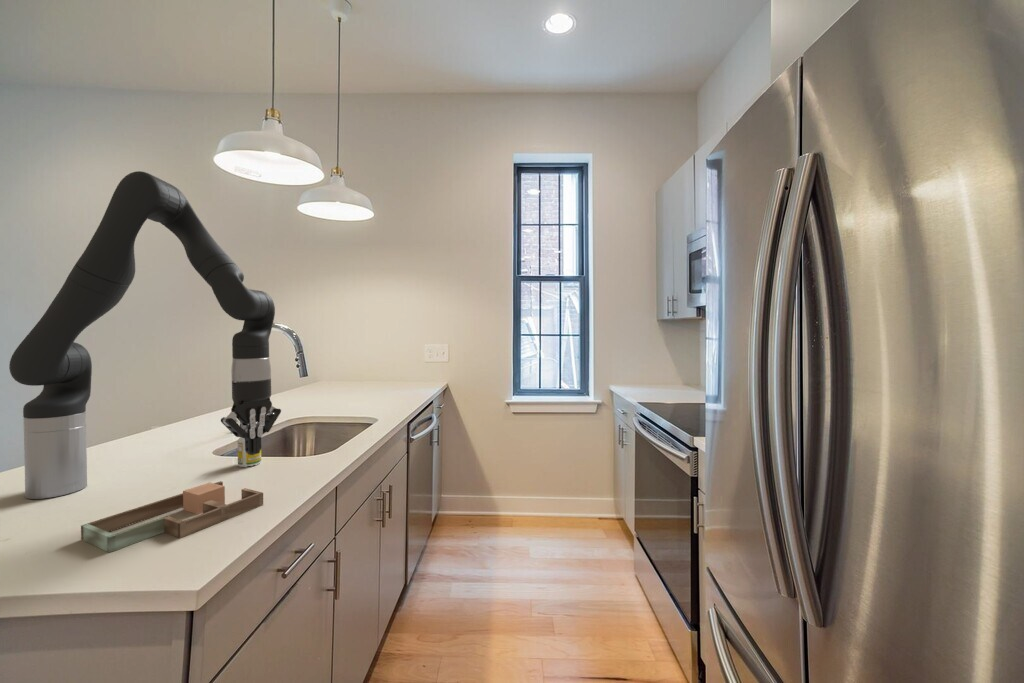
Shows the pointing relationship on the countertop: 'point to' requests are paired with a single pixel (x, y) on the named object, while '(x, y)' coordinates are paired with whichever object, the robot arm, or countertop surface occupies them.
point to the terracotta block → (202, 496)
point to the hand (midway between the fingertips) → (253, 453)
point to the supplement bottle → (246, 455)
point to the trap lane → (163, 520)
